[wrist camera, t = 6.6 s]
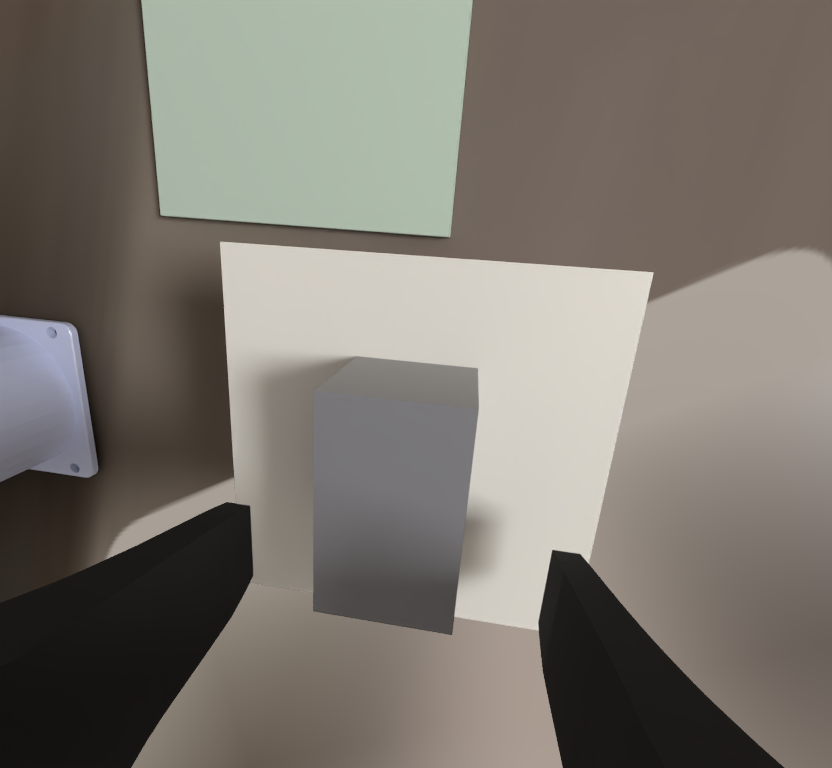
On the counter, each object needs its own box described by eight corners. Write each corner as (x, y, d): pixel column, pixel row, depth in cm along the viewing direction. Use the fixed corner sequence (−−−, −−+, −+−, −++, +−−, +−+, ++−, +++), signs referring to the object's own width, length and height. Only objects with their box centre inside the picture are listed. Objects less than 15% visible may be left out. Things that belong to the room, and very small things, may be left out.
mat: (168, 216, 18) (160, 215, 17) (137, -157, 14) (125, -172, 14) (449, 237, 17) (449, 236, 16) (488, -167, 13) (489, -183, 13)
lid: (250, 567, 14) (174, 670, 10) (233, 243, 11) (120, 233, 7) (568, 619, 12) (602, 753, 9) (642, 272, 10) (735, 276, 6)
